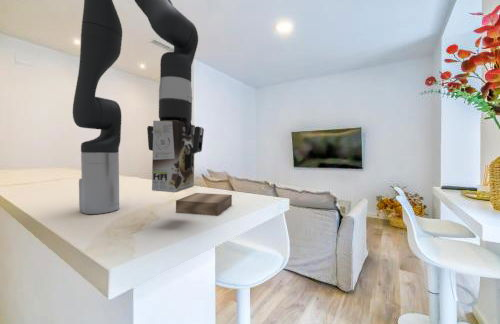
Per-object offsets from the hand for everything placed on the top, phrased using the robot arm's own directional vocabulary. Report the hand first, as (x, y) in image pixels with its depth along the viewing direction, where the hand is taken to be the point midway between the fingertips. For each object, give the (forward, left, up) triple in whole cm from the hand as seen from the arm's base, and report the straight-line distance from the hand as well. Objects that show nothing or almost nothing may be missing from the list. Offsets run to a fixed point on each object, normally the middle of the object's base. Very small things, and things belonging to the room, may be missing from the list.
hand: (174, 169), depth 54 cm
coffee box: (0, 0, -5) cm, 5 cm away
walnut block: (+1, +16, -14) cm, 21 cm away
